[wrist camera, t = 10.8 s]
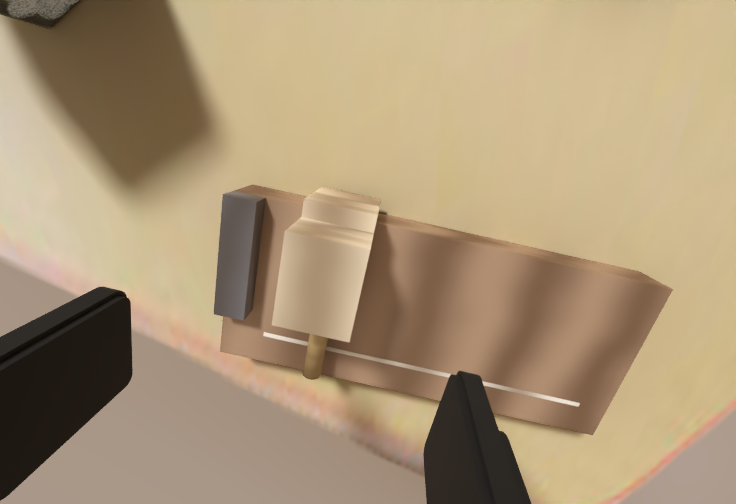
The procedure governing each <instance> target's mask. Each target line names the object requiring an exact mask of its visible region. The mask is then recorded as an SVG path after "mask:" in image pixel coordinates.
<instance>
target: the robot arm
mask: <svg viewBox="0 0 736 504" xmlns="http://www.w3.org/2000/svg"><path fill="white" fill-rule="evenodd" d="M131 345H132V344H131V306H130V300H129V299H128V298H127V297H126V294H125V293H124V292H122V291H119V290H115V289H111V288H106V287H98V288H96V289H94V290H92V291H90V292H88V293H86V294H84V295H82V296H80V297H78V298H76V299H74V300H72V301H70V302H68V303H66V304H64V305H62V306H60V307H59V308H57V309H55V310H53V311H51V312H49V313H47V314H45V315H43V316H41V317H39V318H37V319H35V320H33V321H31V322H29V323H27V324H25V325H23V326H21V327H19V328H17V329H15V330H13V331H11V332H9V333H7V334H5V335H3V336H1V337H0V500H2V499H4V498H5V497H6V496H8V495H9V494H10V493H11V492H12V491H13V490H14V489H15V488H16V487H18V485H20V484H21V483H22V482H23V481H24V480H25V479H26V478H27V477H28V476H29V475H30V474H32V473H33V472H34V471H35V470H36V469H37V468H38V467H39V466H40V465H41V464H43V463H44V462H45V461H46V460H47V459H48V458H49V457H50V456H51V455H52V454H53V453H54V452H56V450H57V449H59V448H60V447H61V446H62V445H63V444H64V443H65V442H66V441H67V440H69V439H70V438H71V437H72V436H73V435H74V434H75V433H76V432H77V431H78V430H79V429H80V428H82V427H83V426H84V425H85V424H86V423H87V422H88V421H89V420H90V419H91V418H92V417H93V416H94V415H95V414H96V413H98V412H99V411H100V410H101V409H102V408H103V407H104V406H105V405H106V404H107V403H109V402H110V401H111V400H112V399H113V398H114V397H115V396H116V395H117V394H118V393H119V392H121V391H122V390H123V389H124V388H125V387H126V386H127V385H128V383H129V381H130V380H131V377H132V346H131ZM424 470H425V483H426V497H427V504H531V501H530V499H529V496H528V493H527V490H526V487H525V485H524V482H523V479H522V476H521V473H520V470H519V468H518V465H517V462H516V459H515V456H514V453H513V451H512V448H511V445H510V442H509V440H508V438H507V435H506V434H505V433H504V432H502V431H499V430H498V427H497V424H496V421H495V418H494V415H493V412H492V409H491V406H490V403H489V400H488V397H487V394H486V391H485V388H484V385H483V382H482V379H481V377H480V376H479V375H477V374H472V373H468V372H464V371H458V372H457V374H456V375H453V374H451V375H450V377H449V379H448V382H447V385H446V387H445V390H444V393H443V396H442V398H441V401H440V404H439V407H438V410H437V412H436V415H435V418H434V421H433V424H432V426H431V429H430V432H429V435H428V437H427V440H426V443H425V447H424Z"/></svg>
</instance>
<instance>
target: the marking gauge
mask: <svg viewBox="0 0 736 504" xmlns="http://www.w3.org/2000/svg"><path fill="white" fill-rule="evenodd" d="M380 202H381V200H380V199H375V198H371V197H366V196H362V195H358V194H353V193H349V192H344V191H340V190H335V189H331V188H326V187H321V188H319V189H318V190H317V191H315V192H314V193H312V194H311V195H309V196H308V197H306V198H305V199H304V203H303V209H302V216H301V218H299V219H298V220H297V221H296V222H295V223H294V224H292V225H291V226H290V227H289V228H288V229H287V230H285V233H284V240H283V247H282V254H281V261H280V269H279V276H278V283H277V290H276V297H275V304H274V311H273V319H272V325H273V326H278V327H282V328H286V329H291V330H295V331H300V332H304V333H309V334H310V336H309V341H308V347H307V352H306V358H305V363H304V369H303V375H304V376H305V377H306V378H308V379H317V378H319V377H320V374H321V369H322V364H323V360H324V355H325V350H326V345H327V340H328V338H331V339H335V340H340V341H344V342H350V338H351V333H352V329H353V325H354V320H355V316H356V311H357V307H358V303H359V298H360V294H361V289H362V285H363V281H364V276H365V272H366V267H367V263H368V259H369V254H370V250H371V245H372V240H373V235H374V230H375V226H376V221H377V217H378V212H379V207H380Z"/></svg>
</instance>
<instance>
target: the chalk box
mask: <svg viewBox="0 0 736 504" xmlns="http://www.w3.org/2000/svg"><path fill="white" fill-rule="evenodd" d="M78 1H79V0H0V14H1V15H4V16H8V17H11V18H14V19H18V20H21V21H24V22H28V23H31V24H35V25H38V26H41V27H44V28H47V29H49V28H50V27H51V26H52V25H53V24H54V23H56V21H57V20H59V19H60V18H61V17H62V16H63V15H64V13H66V12H67V11H68V10H69V9H71V8H72V6H73V5H75V4H76V2H78Z"/></svg>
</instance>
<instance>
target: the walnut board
mask: <svg viewBox="0 0 736 504" xmlns="http://www.w3.org/2000/svg"><path fill="white" fill-rule="evenodd" d="M305 198H306V197H305V196H301V195H296V194H292V193H287V192H283V191H278V190H274V189H270V188H265V187H261V186H256V185H250V186H247V187H244V188H241V189H238V190H235V191H232V192H229V193H226V194H223V200H222V213H221V226H220V239H219V252H218V265H217V278H216V291H215V304H214V314H216V315H220V316H223V325H222V336H221V348H220V352H224V353H229V354H233V355H238V356H242V357H246V358H251V359H255V360H260V361H264V362H269V363H273V364H278V365H282V366H287V367H291V368H295V369H300V370H303V369H304V363H305V358H306V352H307V347H308V341H309V336H310V334H309V333H304V332H300V331H295V330H291V329H286V328H282V327H278V326H273V325H272V319H273V311H274V304H275V297H276V290H277V283H278V276H279V269H280V261H281V254H282V247H283V240H284V233H285V230H287V229H288V228H289V227H290V226H291V225H292V224H294V223H295V222H296V221H297V220H298V219H299V218H301V216H302V209H303V203H304V199H305ZM672 290H673V289H671V288H669V287H667V286H665V285H663V284H662V283H660V282H658V281H656V280H654V279H652V278H650V277H648V276H647V275H645V274H643V273H641V272H638V271H633V270H629V269H625V268H620V267H616V266H611V265H607V264H602V263H598V262H593V261H589V260H585V259H580V258H576V257H571V256H567V255H562V254H558V253H554V252H549V251H545V250H540V249H536V248H531V247H527V246H523V245H518V244H514V243H509V242H505V241H500V240H496V239H491V238H487V237H483V236H478V235H474V234H469V233H465V232H460V231H456V230H452V229H447V228H443V227H438V226H434V225H429V224H425V223H420V222H416V221H412V220H407V219H403V218H398V217H394V216H389V215H385V214H381V213H378V217H377V221H376V226H375V230H374V235H373V240H372V245H371V250H370V254H369V259H368V263H367V267H366V272H365V276H364V281H363V285H362V289H361V294H360V298H359V303H358V307H357V311H356V316H355V320H354V325H353V329H352V333H351V338H350V342H344V341H340V340H335V339H331V338H328V340H327V345H326V350H325V355H324V360H323V364H322V369H321V374H322V375H327V376H331V377H336V378H340V379H345V380H349V381H353V382H358V383H362V384H367V385H371V386H376V387H380V388H385V389H389V390H394V391H398V392H403V393H407V394H411V395H416V396H420V397H425V398H429V399H434V400H438V401H441V398H442V396H443V393H444V390H445V387H446V385H447V382H448V379H449V377H450V375H451V374H453V375H456V374H457V372H458V371H464V372H468V373H472V374H477V375H479V376H480V377H481V379H482V382H483V385H484V388H485V391H486V394H487V397H488V400H489V403H490V406H491V409H492V412H493V413H496V414H501V415H505V416H510V417H514V418H518V419H523V420H527V421H532V422H536V423H541V424H545V425H550V426H554V427H559V428H563V429H568V430H572V431H576V432H581V433H585V434H590V435H593V434H594V432H595V430H596V428H597V427H598V425H599V423H600V421H601V419H602V417H603V416H604V414H605V412H606V410H607V408H608V407H609V405H610V403H611V401H612V399H613V397H614V396H615V394H616V392H617V390H618V388H619V387H620V385H621V383H622V381H623V379H624V377H625V376H626V374H627V372H628V370H629V368H630V367H631V365H632V363H633V361H634V359H635V357H636V356H637V354H638V352H639V350H640V348H641V347H642V345H643V343H644V341H645V339H646V337H647V336H648V334H649V332H650V330H651V328H652V327H653V325H654V323H655V321H656V319H657V317H658V316H659V314H660V312H661V310H662V308H663V307H664V305H665V303H666V301H667V299H668V297H669V296H670V294H671V292H672Z"/></svg>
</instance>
